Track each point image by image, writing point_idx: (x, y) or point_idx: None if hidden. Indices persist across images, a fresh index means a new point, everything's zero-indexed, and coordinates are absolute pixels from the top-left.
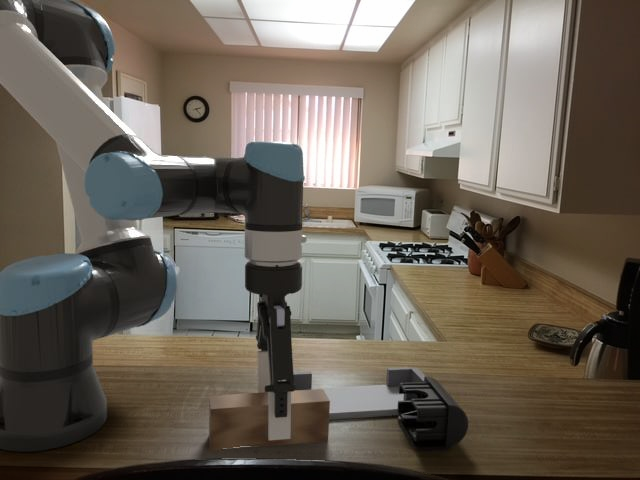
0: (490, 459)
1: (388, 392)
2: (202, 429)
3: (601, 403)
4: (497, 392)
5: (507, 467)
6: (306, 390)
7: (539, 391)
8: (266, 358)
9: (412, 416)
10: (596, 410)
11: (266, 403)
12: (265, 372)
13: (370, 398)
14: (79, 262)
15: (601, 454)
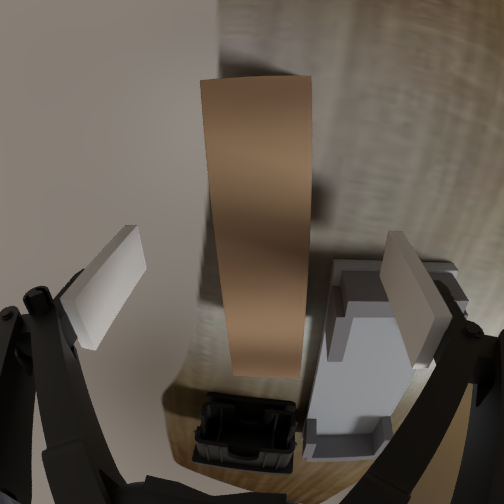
0: (190, 426)
1: (364, 414)
2: (338, 63)
3: (283, 492)
4: (330, 468)
5: (176, 428)
6: (298, 352)
7: (319, 482)
8: (416, 325)
9: (269, 420)
10: (272, 488)
11: (228, 254)
12: (404, 289)
13: (355, 396)
14: None
15: (201, 467)
